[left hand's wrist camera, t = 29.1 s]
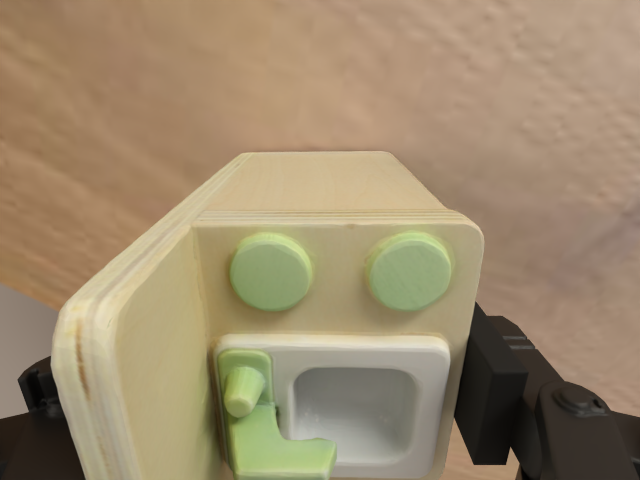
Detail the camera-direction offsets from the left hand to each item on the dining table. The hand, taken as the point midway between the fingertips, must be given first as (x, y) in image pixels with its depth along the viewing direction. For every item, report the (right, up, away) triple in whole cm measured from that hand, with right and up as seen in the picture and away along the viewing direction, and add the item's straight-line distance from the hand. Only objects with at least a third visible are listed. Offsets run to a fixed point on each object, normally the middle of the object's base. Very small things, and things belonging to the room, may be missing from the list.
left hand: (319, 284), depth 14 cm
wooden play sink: (0, +2, +4) cm, 4 cm away
